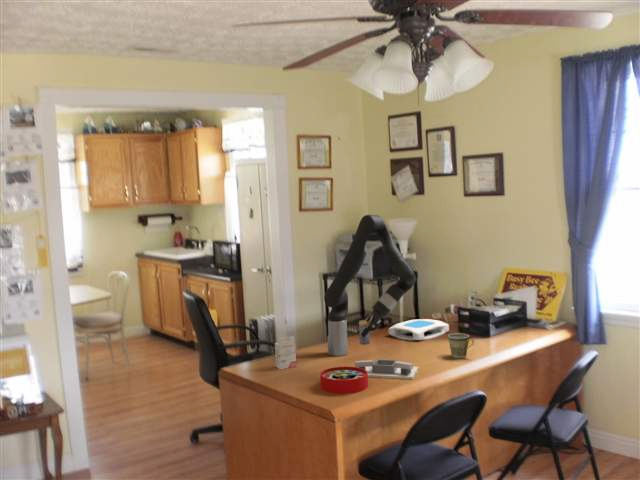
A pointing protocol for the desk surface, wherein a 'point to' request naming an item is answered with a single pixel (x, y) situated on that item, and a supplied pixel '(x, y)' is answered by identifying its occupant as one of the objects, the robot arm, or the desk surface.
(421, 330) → the white blue plastic platform
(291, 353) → the ink cartridge box
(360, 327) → the gold lidded jar
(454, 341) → the ceramic cup
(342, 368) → the toy clock
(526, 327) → the desk surface
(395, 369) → the shaft rig
